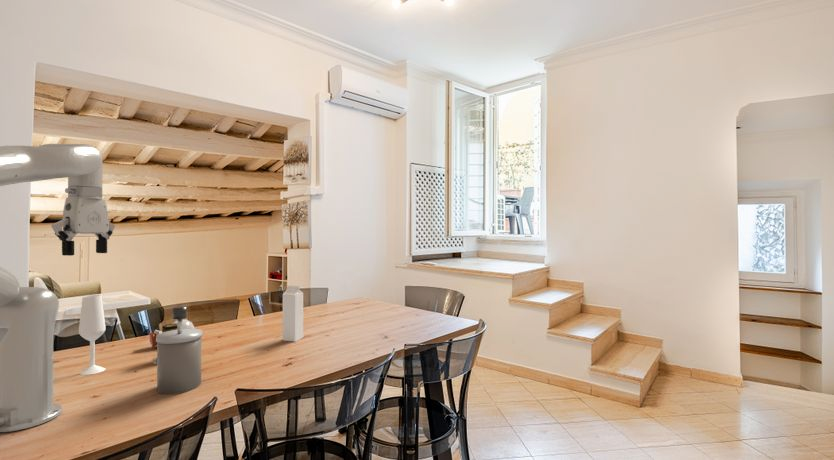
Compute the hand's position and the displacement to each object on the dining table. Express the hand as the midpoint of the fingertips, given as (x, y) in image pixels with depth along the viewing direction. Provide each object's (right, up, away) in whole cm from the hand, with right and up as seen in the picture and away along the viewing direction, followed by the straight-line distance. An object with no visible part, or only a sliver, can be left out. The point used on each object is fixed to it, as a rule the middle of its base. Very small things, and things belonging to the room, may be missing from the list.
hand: (85, 254), depth 113 cm
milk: (+43, -38, +51) cm, 77 cm away
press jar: (+25, -38, +2) cm, 46 cm away
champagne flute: (-9, -38, +14) cm, 42 cm away
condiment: (+8, -38, +25) cm, 47 cm away
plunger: (+25, -23, +2) cm, 34 cm away
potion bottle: (-1, -38, +43) cm, 57 cm away
